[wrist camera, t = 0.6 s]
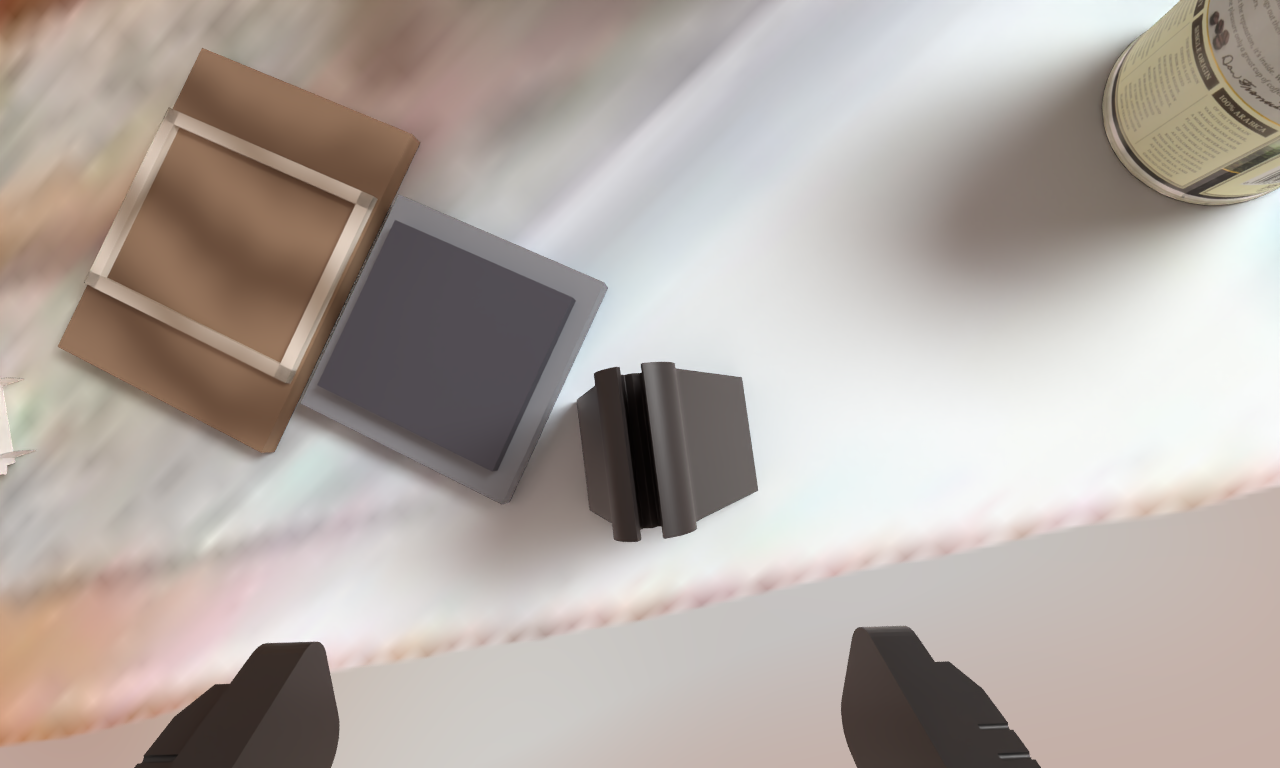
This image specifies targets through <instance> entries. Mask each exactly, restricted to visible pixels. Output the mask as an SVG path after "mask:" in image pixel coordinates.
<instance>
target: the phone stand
mask: <svg viewBox="0 0 1280 768" xmlns="http://www.w3.org/2000/svg"><path fill="white" fill-rule="evenodd" d="M641 370H642V373H633V374H627V375H621V374H620V367H613V368H608V369H604V370H601V371H598V372H596V373H594V379H595V386H594V387H593V388H592V389H590V390H589V391H588V392H586V393H585V394H584V395H583V396H581V397H580V398H579V399H577V406H578V415H579V423H580V432H581V440H582V449H583V457H584V466H585V474H586V483H587V491H588V500H589V508H590V511H592V512H594V513H595V514H597V515H599V516H601V517H602V518H604V519H606V520H607V521H609V522H611V523H612V527H613V536H614V540H616V541H622V542H638V541H640V540H641V534H640V530H641V529H643V528H654V527H657V526H662V533H663V538H665V539H666V538H671V537H676V536H680V535H684V534H687V533H690V532H693V531H695V530H696V529H697V526H696V522H697V521H698V520H700V519H702V518H704V517H706V516H708V515H710V514H712V513H714V512H716V511H718V510H720V509H722V508H724V507H726V506H728V505H730V504H732V503H734V502H736V501H738V500H740V499H742V498H744V497H746V496H748V495H750V494H752V493H754V492H756V491H758V486H757V479H756V472H755V465H754V458H753V451H752V444H751V437H750V431H749V424H748V417H747V410H746V403H745V396H744V389H743V382H742V377H735V376H727V375H720V374H712V373H705V372H697V371H689V370H682V369H676V368H675V363H672V362H650V363H642V364H641Z"/></svg>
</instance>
